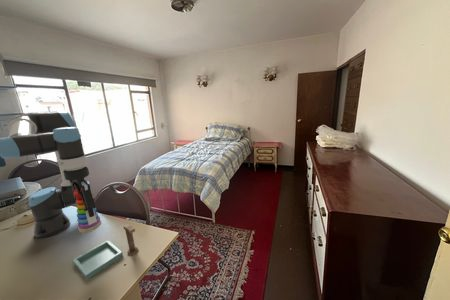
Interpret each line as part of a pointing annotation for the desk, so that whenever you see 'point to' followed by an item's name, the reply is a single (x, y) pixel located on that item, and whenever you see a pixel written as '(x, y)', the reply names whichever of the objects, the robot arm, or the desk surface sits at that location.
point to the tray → (97, 259)
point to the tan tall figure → (130, 239)
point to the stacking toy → (82, 217)
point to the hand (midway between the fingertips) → (88, 219)
